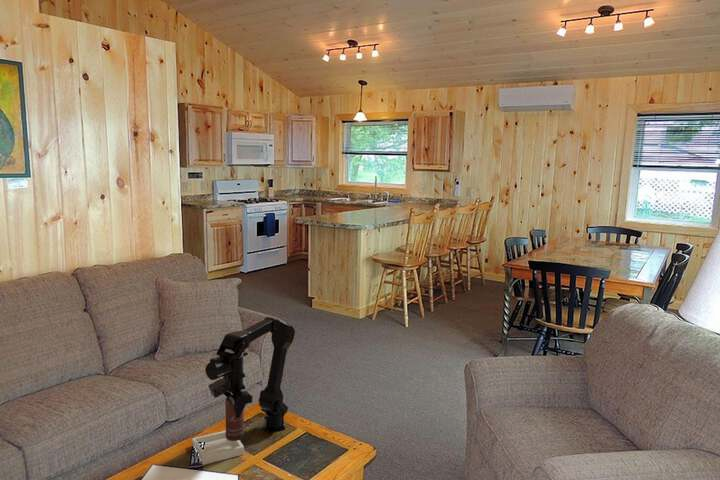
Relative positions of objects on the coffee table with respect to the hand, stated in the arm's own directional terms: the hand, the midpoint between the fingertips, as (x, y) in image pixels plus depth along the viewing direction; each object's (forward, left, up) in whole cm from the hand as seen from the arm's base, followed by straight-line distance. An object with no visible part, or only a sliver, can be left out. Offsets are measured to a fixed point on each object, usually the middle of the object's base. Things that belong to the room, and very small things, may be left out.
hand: (234, 414), depth 179 cm
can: (0, 0, -8) cm, 8 cm away
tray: (+5, -3, -13) cm, 14 cm away
